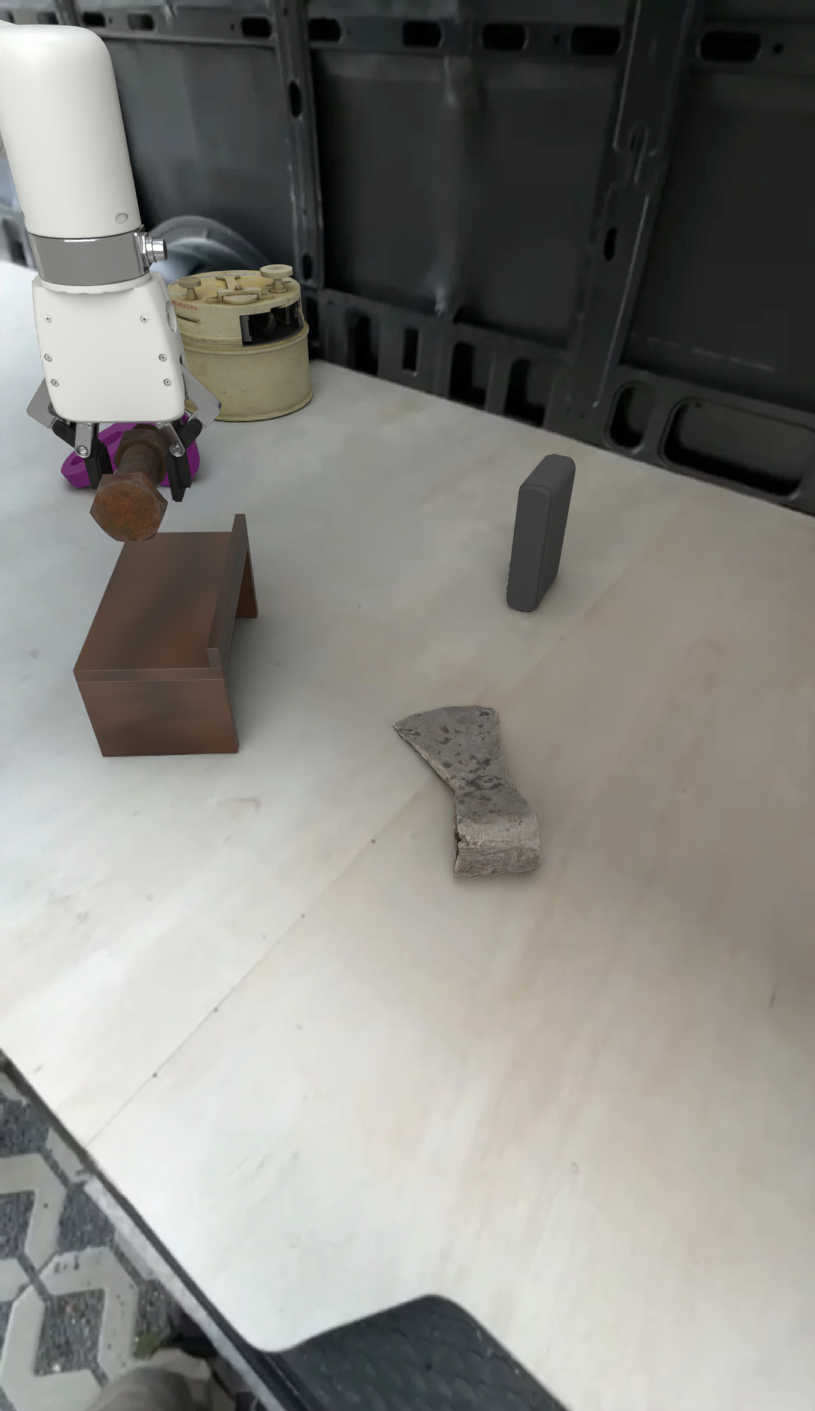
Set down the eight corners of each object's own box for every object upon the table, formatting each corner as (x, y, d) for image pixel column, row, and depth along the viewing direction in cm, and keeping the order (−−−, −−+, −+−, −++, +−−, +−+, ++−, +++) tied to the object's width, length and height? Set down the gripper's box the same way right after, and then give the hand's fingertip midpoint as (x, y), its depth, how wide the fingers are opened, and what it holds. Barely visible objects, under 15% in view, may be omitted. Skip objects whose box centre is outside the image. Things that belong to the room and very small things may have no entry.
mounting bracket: (101, 532, 111) (211, 468, 109) (59, 485, 105) (173, 416, 103) (102, 501, 117) (205, 439, 115) (62, 454, 111) (170, 389, 110)
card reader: (527, 567, 95) (544, 448, 85) (559, 576, 94) (580, 455, 84) (500, 606, 89) (514, 482, 79) (534, 616, 88) (553, 491, 78)
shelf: (102, 757, 71) (65, 651, 63) (148, 613, 87) (123, 514, 79) (237, 753, 71) (218, 648, 63) (258, 611, 88) (245, 513, 80)
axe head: (389, 695, 74) (493, 685, 76) (390, 739, 77) (490, 729, 78) (430, 846, 57) (563, 829, 58) (430, 896, 60) (557, 879, 61)
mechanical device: (99, 386, 135) (67, 255, 122) (296, 366, 144) (287, 241, 131) (106, 439, 120) (71, 295, 106) (327, 413, 129) (320, 277, 115)
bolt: (165, 476, 74) (147, 555, 63) (111, 452, 72) (82, 530, 61) (187, 421, 72) (173, 494, 60) (131, 395, 69) (105, 466, 58)
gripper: (221, 245, 59) (249, 474, 71) (-16, 243, 58) (54, 476, 70) (208, 272, 53) (241, 515, 65) (-55, 270, 52) (29, 518, 64)
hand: (144, 492), depth 67 cm, fingers closed on bolt, 5 cm apart
